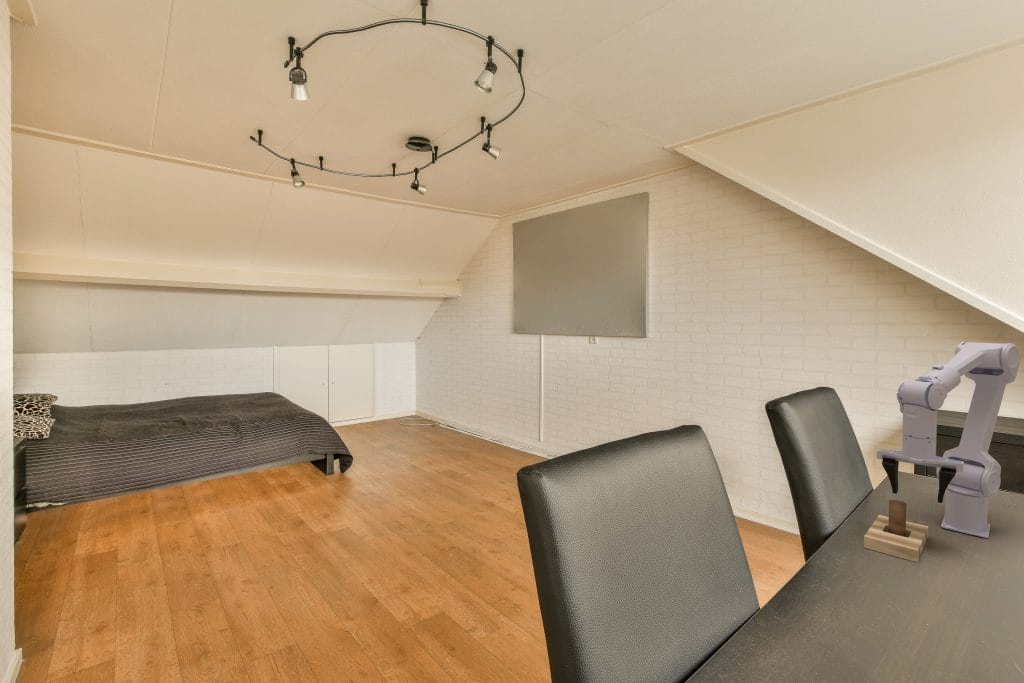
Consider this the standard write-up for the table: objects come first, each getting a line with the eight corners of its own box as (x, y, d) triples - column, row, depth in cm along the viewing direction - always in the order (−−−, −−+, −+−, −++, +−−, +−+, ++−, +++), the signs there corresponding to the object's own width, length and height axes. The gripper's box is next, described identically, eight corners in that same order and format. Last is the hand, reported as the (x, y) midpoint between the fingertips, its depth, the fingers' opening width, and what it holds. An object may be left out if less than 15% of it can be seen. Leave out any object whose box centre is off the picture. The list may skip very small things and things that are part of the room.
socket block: (878, 525, 116) (879, 514, 116) (927, 537, 110) (928, 526, 110) (863, 547, 105) (864, 536, 105) (917, 562, 99) (918, 550, 98)
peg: (889, 537, 110) (891, 498, 109) (906, 542, 107) (908, 502, 107) (886, 542, 108) (887, 502, 107) (903, 546, 105) (904, 506, 105)
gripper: (874, 433, 109) (872, 493, 109) (962, 445, 98) (960, 511, 99) (880, 428, 113) (879, 485, 114) (965, 438, 103) (963, 501, 104)
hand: (917, 496), depth 107 cm, fingers open, 7 cm apart
